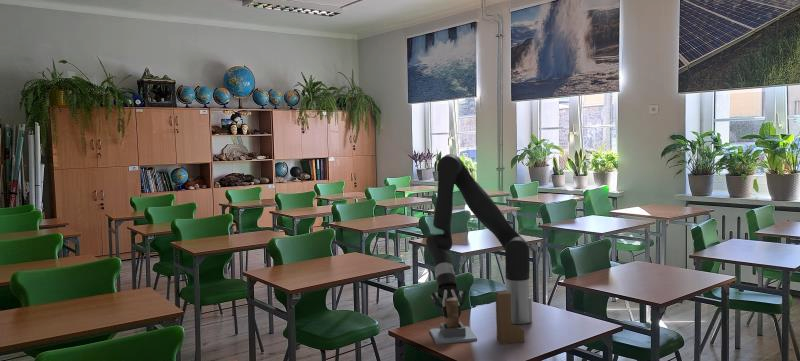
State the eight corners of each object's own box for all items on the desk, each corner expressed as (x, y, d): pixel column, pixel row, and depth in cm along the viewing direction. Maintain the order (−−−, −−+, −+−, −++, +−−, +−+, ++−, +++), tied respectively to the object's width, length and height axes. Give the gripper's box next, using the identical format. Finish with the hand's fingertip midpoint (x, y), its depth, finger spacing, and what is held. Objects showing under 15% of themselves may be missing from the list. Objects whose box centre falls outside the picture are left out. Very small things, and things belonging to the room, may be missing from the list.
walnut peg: (456, 328, 222) (455, 297, 221) (458, 332, 218) (457, 300, 217) (446, 329, 221) (445, 297, 220) (448, 332, 217) (447, 300, 216)
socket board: (468, 328, 227) (468, 318, 227) (477, 340, 214) (476, 330, 213) (429, 331, 226) (429, 321, 225) (436, 344, 212) (435, 333, 212)
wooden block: (520, 338, 215) (519, 289, 213) (524, 342, 210) (523, 292, 209) (496, 340, 214) (495, 291, 212) (500, 344, 209) (498, 294, 208)
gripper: (428, 273, 226) (434, 313, 214) (464, 270, 227) (473, 310, 216) (426, 283, 231) (432, 323, 220) (462, 281, 233) (470, 320, 222)
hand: (452, 317), depth 218 cm, fingers closed on walnut peg, 3 cm apart
